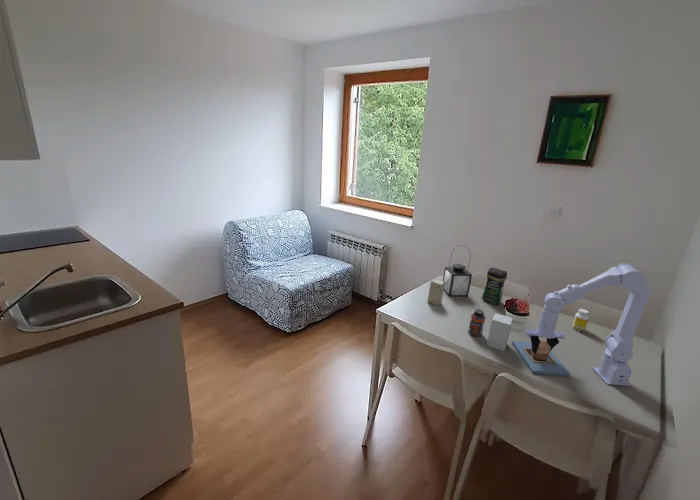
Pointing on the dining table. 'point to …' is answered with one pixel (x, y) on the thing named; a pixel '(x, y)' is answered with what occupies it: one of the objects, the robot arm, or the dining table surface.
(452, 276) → the lantern
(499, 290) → the coffee jar
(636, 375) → the dining table surface
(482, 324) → the supplement bottle
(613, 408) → the dining table surface
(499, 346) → the supplement box
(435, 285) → the skincare box
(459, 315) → the dining table surface
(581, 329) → the supplement bottle
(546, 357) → the block
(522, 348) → the blue board with hole
